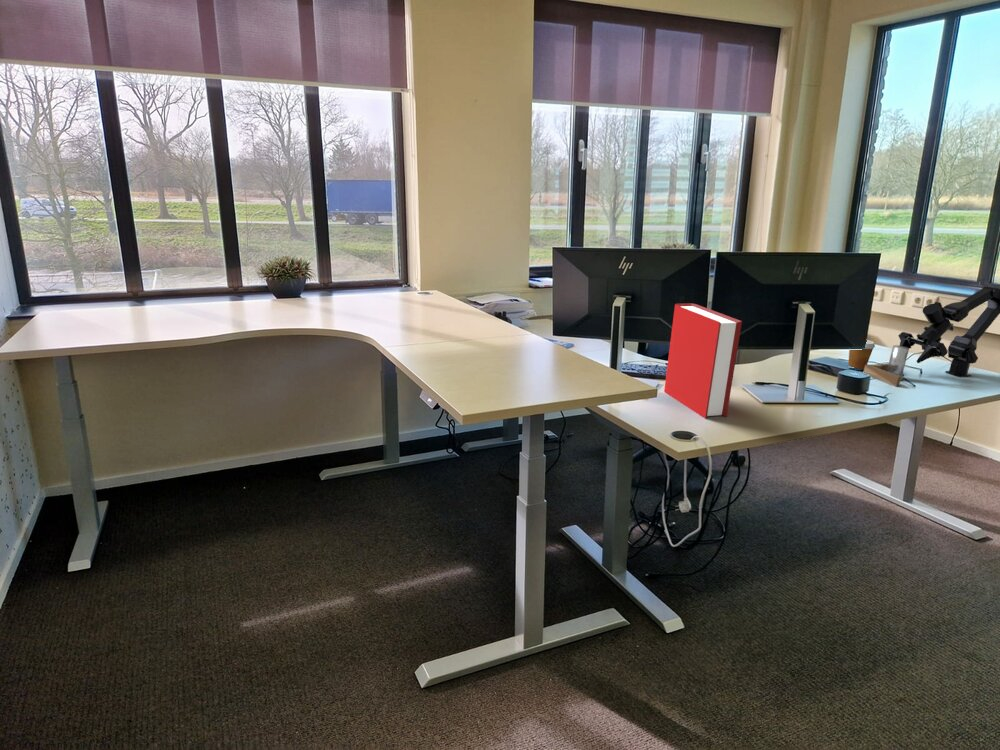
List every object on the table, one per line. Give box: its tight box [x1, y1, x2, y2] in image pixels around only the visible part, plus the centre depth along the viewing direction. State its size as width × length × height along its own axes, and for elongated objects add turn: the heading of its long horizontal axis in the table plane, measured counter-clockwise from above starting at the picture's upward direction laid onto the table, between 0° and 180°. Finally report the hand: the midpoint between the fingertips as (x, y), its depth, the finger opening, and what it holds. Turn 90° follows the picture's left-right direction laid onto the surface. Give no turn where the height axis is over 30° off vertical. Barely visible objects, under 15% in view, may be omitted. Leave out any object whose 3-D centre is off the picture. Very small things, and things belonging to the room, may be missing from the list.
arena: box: [863, 363, 902, 388], centre depth 250 cm, size 15×16×4 cm
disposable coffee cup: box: [847, 339, 876, 372], centre depth 261 cm, size 10×10×12 cm
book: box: [663, 302, 743, 419], centre depth 211 cm, size 27×8×32 cm, turn 16°
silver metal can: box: [887, 344, 910, 382], centre depth 250 cm, size 6×6×13 cm
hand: (907, 359), depth 251 cm, fingers open, 9 cm apart
